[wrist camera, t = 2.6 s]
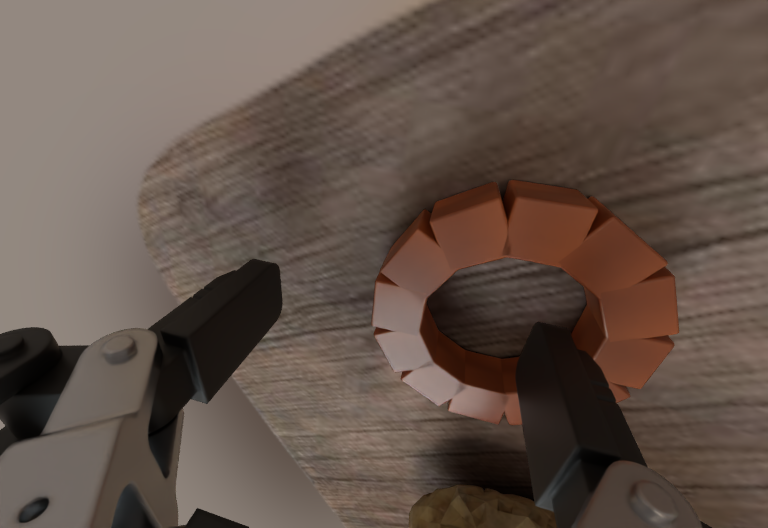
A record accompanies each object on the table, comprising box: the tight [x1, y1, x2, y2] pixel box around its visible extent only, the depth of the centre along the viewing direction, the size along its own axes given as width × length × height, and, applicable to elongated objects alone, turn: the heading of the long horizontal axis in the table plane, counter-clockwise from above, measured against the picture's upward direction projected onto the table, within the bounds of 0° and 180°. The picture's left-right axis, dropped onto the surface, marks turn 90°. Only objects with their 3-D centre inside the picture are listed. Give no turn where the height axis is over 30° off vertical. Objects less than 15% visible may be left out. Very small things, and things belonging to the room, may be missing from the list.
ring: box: [371, 180, 679, 425], centre depth 10 cm, size 8×8×2 cm
